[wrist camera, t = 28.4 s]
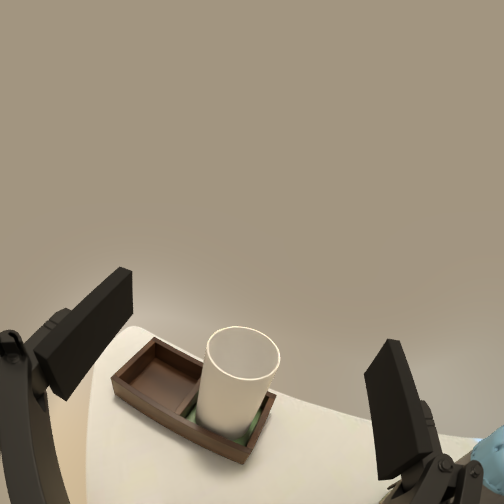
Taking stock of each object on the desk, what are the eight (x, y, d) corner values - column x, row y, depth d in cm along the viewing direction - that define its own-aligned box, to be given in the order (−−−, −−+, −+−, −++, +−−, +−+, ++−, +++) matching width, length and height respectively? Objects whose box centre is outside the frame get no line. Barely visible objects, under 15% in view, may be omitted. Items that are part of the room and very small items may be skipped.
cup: (196, 394, 39) (207, 322, 32) (247, 399, 40) (274, 329, 33) (194, 439, 31) (205, 376, 24) (252, 442, 33) (286, 382, 26)
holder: (243, 464, 30) (250, 454, 28) (114, 394, 35) (110, 377, 33) (268, 409, 40) (276, 394, 38) (154, 354, 45) (154, 336, 43)
